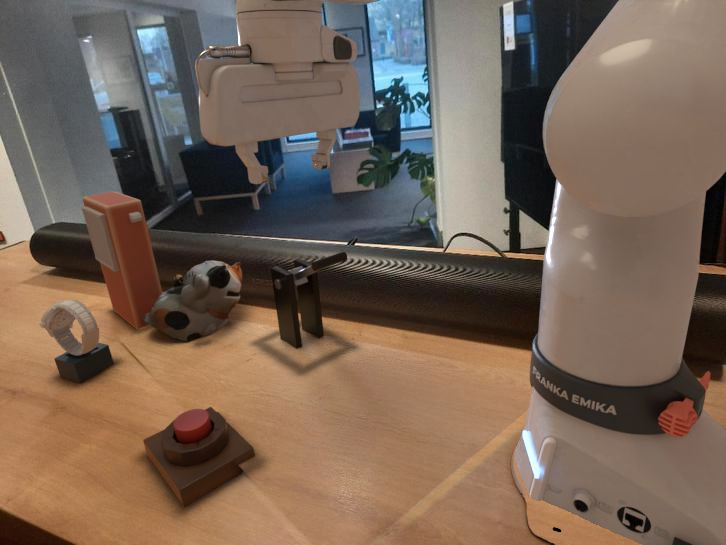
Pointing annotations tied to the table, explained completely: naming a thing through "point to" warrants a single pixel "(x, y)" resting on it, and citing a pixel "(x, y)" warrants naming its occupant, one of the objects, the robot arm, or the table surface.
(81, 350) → the watch
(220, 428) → the button box
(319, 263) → the lever
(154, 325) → the lucky cat figurine
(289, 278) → the bracket
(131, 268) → the control panel
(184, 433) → the button
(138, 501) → the table surface
